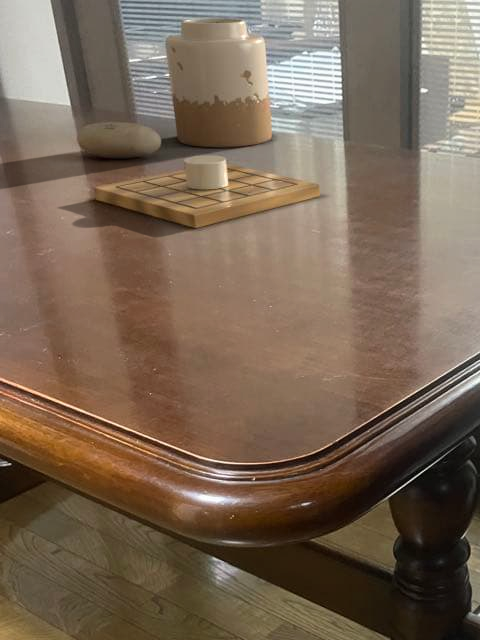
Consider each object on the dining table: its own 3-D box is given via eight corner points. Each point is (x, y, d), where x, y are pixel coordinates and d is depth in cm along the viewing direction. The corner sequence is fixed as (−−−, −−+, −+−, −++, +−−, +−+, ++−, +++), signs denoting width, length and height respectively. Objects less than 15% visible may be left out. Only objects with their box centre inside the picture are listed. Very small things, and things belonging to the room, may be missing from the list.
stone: (157, 143, 127) (71, 117, 124) (154, 181, 132) (71, 157, 129) (165, 122, 130) (82, 97, 127) (162, 160, 135) (81, 137, 132)
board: (95, 199, 110) (92, 186, 109) (219, 173, 123) (218, 161, 122) (195, 228, 100) (193, 214, 99) (320, 196, 112) (319, 183, 111)
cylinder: (178, 185, 110) (174, 159, 108) (210, 178, 113) (207, 153, 112) (204, 191, 107) (201, 165, 106) (237, 184, 111) (234, 159, 109)
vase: (161, 137, 145) (145, 19, 135) (242, 127, 152) (232, 15, 143) (206, 152, 135) (191, 26, 125) (290, 140, 143) (282, 21, 133)
